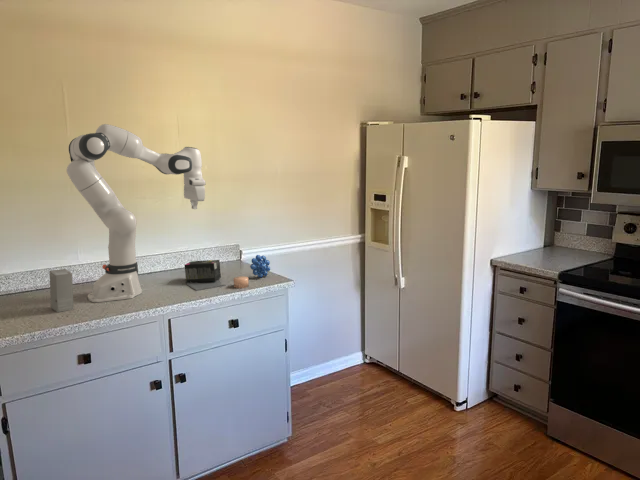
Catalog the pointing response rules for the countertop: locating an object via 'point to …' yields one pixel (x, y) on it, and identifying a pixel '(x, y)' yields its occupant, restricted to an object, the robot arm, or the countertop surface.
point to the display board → (205, 285)
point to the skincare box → (61, 290)
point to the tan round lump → (241, 282)
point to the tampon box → (202, 271)
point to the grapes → (260, 266)
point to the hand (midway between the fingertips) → (194, 209)
